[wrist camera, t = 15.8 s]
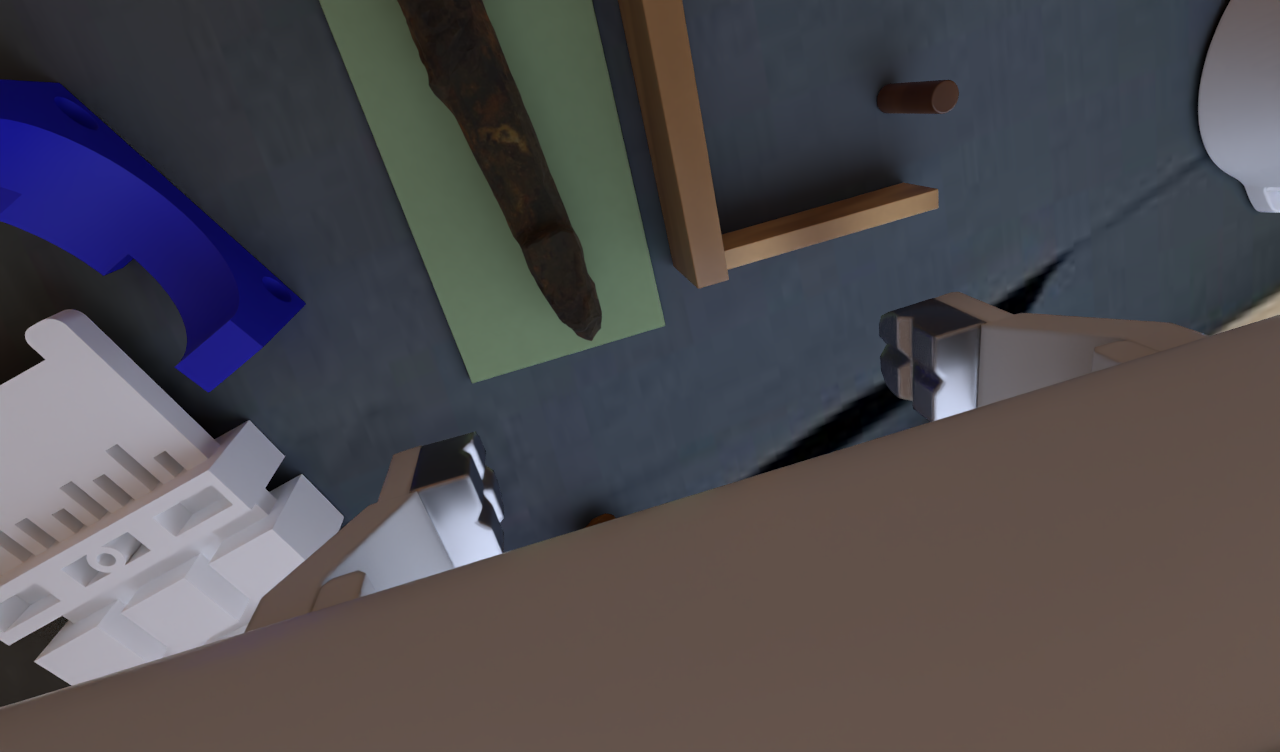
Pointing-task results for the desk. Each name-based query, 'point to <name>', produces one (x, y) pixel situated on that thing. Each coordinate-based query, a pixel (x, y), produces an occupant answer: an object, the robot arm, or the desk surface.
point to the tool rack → (686, 170)
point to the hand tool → (505, 149)
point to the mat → (462, 199)
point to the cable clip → (134, 225)
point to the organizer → (134, 511)
